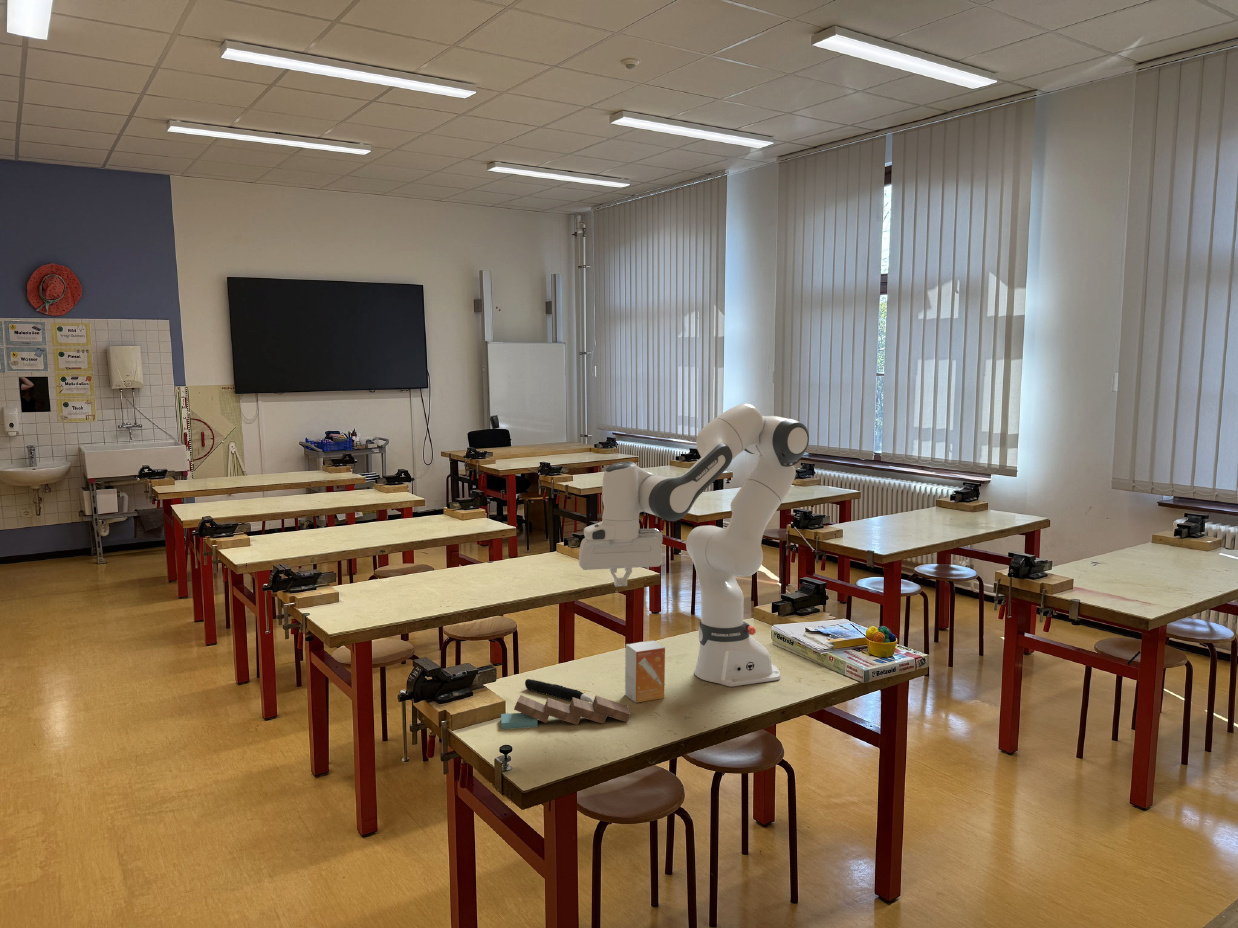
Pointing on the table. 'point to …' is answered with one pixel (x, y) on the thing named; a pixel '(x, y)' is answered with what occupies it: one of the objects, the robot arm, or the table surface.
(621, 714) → the domino
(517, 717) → the domino
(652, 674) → the small box
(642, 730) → the table surface
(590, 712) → the domino
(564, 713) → the domino
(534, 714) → the domino
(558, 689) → the utility knife
